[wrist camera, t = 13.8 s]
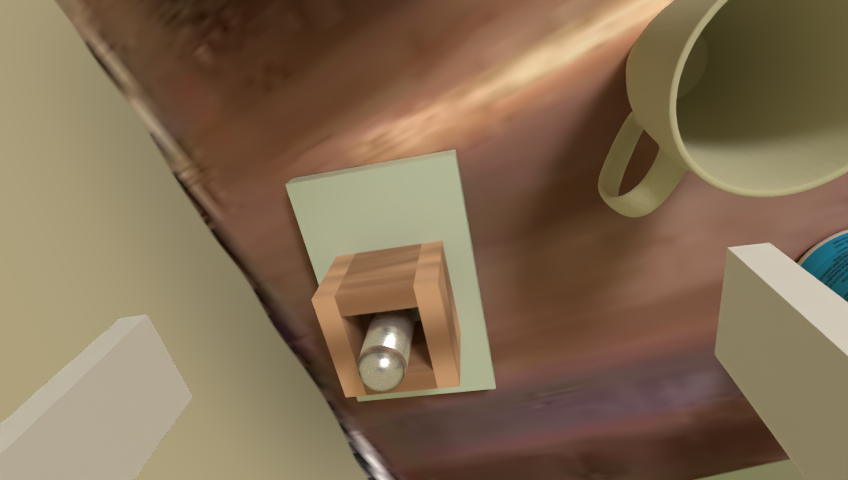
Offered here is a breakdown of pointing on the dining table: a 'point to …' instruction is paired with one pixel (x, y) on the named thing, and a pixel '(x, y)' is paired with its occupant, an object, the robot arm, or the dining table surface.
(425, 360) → the collar
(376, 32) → the dining table surface
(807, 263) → the beverage bottle
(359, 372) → the post
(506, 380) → the dining table surface
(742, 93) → the mug
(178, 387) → the robot arm
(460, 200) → the post plate
